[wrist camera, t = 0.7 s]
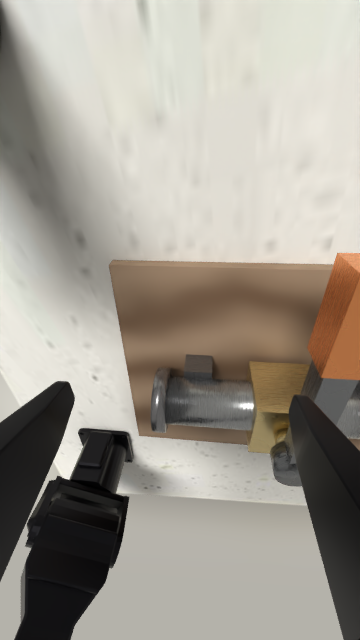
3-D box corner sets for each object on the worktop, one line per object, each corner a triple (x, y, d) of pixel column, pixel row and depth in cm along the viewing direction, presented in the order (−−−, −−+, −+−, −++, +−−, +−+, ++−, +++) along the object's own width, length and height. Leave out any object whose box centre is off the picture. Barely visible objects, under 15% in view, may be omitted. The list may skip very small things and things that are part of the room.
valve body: (380, 405, 25) (428, 480, 20) (164, 391, 27) (151, 455, 22) (406, 364, 22) (471, 438, 17) (160, 351, 24) (145, 413, 19)
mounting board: (379, 447, 31) (384, 456, 30) (140, 428, 33) (139, 435, 32) (507, 268, 18) (521, 274, 17) (112, 260, 21) (108, 265, 20)
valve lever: (307, 461, 20) (316, 492, 18) (266, 457, 20) (271, 488, 18) (403, 254, 11) (440, 276, 9) (327, 252, 11) (349, 274, 9)
